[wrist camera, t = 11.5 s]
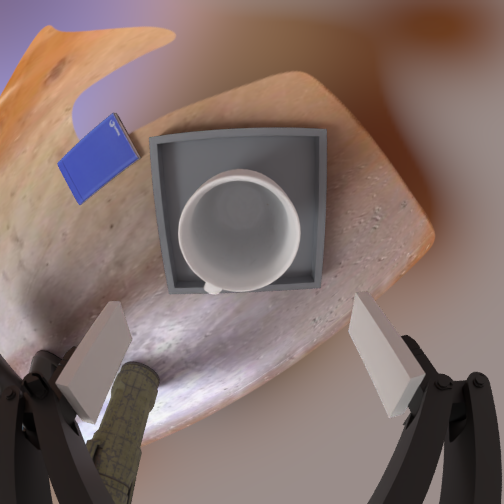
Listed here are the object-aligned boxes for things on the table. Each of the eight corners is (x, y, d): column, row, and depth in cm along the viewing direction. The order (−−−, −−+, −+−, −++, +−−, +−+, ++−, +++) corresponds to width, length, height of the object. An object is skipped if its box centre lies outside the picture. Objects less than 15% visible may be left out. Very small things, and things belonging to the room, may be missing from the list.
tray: (173, 284, 41) (169, 294, 38) (156, 137, 33) (149, 137, 30) (315, 278, 41) (320, 287, 39) (320, 130, 33) (326, 129, 30)
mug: (251, 278, 40) (255, 335, 28) (180, 252, 38) (154, 301, 26) (295, 183, 35) (322, 204, 23) (216, 151, 33) (201, 154, 21)
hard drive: (112, 112, 30) (56, 163, 32) (138, 158, 33) (78, 205, 35) (117, 112, 31) (61, 162, 33) (142, 157, 34) (84, 203, 36)
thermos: (137, 352, 47) (81, 517, 14) (172, 389, 51) (144, 539, 18) (108, 361, 48) (50, 503, 15) (142, 395, 52) (107, 529, 19)
